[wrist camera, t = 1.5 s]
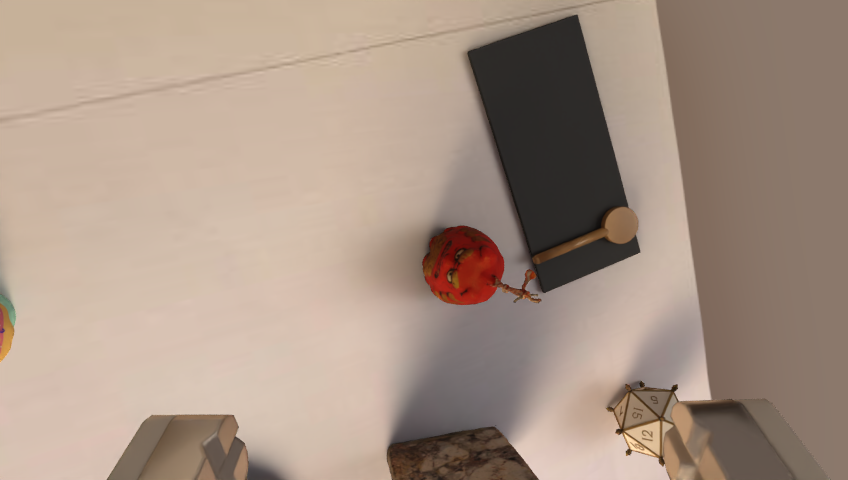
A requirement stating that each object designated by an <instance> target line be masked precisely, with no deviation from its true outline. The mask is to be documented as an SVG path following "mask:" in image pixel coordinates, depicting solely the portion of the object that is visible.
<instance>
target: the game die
mask: <svg viewBox="0 0 848 480" xmlns="http://www.w3.org/2000/svg"><path fill="white" fill-rule="evenodd" d="M639 384H640V387H641V388H636V389H632V390H631V387H630V385H627V384H626V387H625V388H626V390H628V393H627V394H626V395H625V396H624V397H623V399H622V400H621V401H620V402H619V403H618V405H617V406H616V407H615V408H614V409H613V408H612V407H608V408H606V409H607V410H608V411H610V412H614V415H615V417H616V420H617V422H618V424H619V427H620V429H616V434H618V435H620V434H621V433H622V434H623V436H624V438H625V440H626V443H627V445H628V447H629V449H628V450H627V451H626V456H627V455H630V454H631V452H632V451H635V452H639V453H642V454H646V455H650V456H653V457H657V458H659V464H661V465H662V466H664V464H665V463H664V459H663V441H664V436H665V432H667V431H668V430H669V429H670V428H672V427H673V426H674V423H673V421H672V419H671V417H670V414H671V411H672V407H673V405H674V404H675V403H677V402H678V399H677V397H676V395H675V393H674V391H676V390H677V389H678V384H677V385H673V387H672V389H671V390H666V389H657V388H648V387H644V386H645V385H644V383H643V382H642V381H641V382H640V383H639Z"/></svg>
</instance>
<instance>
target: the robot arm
mask: <svg viewBox="0 0 848 480" xmlns="http://www.w3.org/2000/svg"><path fill="white" fill-rule="evenodd" d="M670 417H671V419H672V421H673V423H674V426H673V427H672V428H670V429H669V430H668V431H667V432H665V436H664V441H663V457H664V463H665V466H666V470H667V473H668V475H669V478H670V480H831V479H830V478H829V477H828V475H827V474H826V473H825V471H824V470H823V469H822V467H821V466H820V465H819V464H818V462H817V461H816V460H815V458H814V457H813V456H812V454H811V453H810V452H809V450H808V449H807V448H806V447H805V445H804V444H803V443H802V441H801V440H800V439H799V438H798V436H797V435H796V433H795V432H794V431H793V430H792V428H791V427H790V426H789V424H788V423H787V422H786V421H785V419H784V418H783V417H782V415H781V414H780V413H779V411H778V410H777V409H776V407H775V406H774V405H773V404H772V403H771V402H769V401H768V400H766V399H740V400H732V399H727V400H702V401H678V402H677V403H675V404H674V405H673V407H672V411H671V414H670ZM238 428H239V426H238V424H237V422H236V419H235V417H234V415H151V416H150V417H149V418H147V419H146V420H145V421H144V422H143V423H142V424H141V426H140V428H139V429H138V431H137V432H136V434H135V436H134V437H133V439H132V440H131V442H130V443H129V445H128V447H127V448H126V450H125V451H124V453H123V455H122V456H121V458H120V459H119V461H118V463H117V464H116V466H115V467H114V469H113V471H112V472H111V474H110V475H109V477H108V479H107V480H247V472H248V465H249V461H248V452H247V449H246V446H245V443H244V442H243V441H241V440H240V439H238V438H237V437H236V436H235V435H236V433H237V430H238Z"/></svg>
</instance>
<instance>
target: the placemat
mask: <svg viewBox="0 0 848 480" xmlns="http://www.w3.org/2000/svg"><path fill="white" fill-rule="evenodd" d="M468 56H469V59H470V63H471V66H472V69H473V72H474V75H475V78H476V82H477V85H478V88H479V91H480V94H481V98H482V101H483V104H484V107H485V110H486V113H487V117H488V120H489V123H490V126H491V129H492V133H493V136H494V139H495V142H496V145H497V148H498V152H499V155H500V158H501V161H502V164H503V168H504V171H505V174H506V177H507V180H508V183H509V187H510V190H511V193H512V196H513V199H514V203H515V206H516V209H517V212H518V215H519V218H520V222H521V225H522V228H523V231H524V234H525V238H526V241H527V244H528V247H529V250H530V253H531V257H532V260H533V257H534V256H535V255H537V254H539V253H542V252H544V251H546V250H549V249H551V248H554V247H556V246H559V245H561V244H563V243H566V242H568V241H571V240H573V239H576V238H578V237H581V236H583V235H585V234H588V233H590V232H593V231H595V230H598V229H600V228H601V222H602V219H603V216H604V215H605V213H606V212H607V211H608V210H610V209H611V208H613V207H617V206H621V207H627V208H629V207H628V203H627V200H626V196H625V192H624V188H623V185H622V181H621V177H620V173H619V169H618V166H617V162H616V158H615V154H614V151H613V147H612V143H611V139H610V136H609V132H608V128H607V124H606V120H605V117H604V113H603V109H602V105H601V102H600V98H599V94H598V90H597V87H596V83H595V79H594V75H593V72H592V68H591V64H590V60H589V56H588V53H587V49H586V45H585V41H584V38H583V34H582V30H581V26H580V23H579V19H578V15H574V16H572V17H569V18H566V19H563V20H560V21H557V22H554V23H551V24H548V25H545V26H542V27H539V28H536V29H533V30H530V31H527V32H524V33H521V34H518V35H515V36H513V37H510V38H507V39H504V40H501V41H498V42H495V43H492V44H489V45H486V46H483V47H480V48H477V49H474V50H471V51H469V52H468ZM638 253H640V249H639V245H638V241H637V237H636V234H635V236H634V237H633V238H632V239H631V240H630V241H629V242H627V243H624V244H616V243H612V242H610V241H608V240H607V239H606V238H605V237H603V238H600V239H598V240H596V241H593V242H591V243H588V244H586V245H584V246H581V247H579V248H576V249H574V250H571V251H569V252H567V253H564V254H562V255H559V256H557V257H554V258H552V259H550V260H547V261H545V262H542V263H540V264H535V263H534V262H533V263H534V266H535V269H536V273H537V276H538V279H539V282H540V285H541V289H542V292H544V293H546V292H548V291H550V290H553V289H555V288H558V287H560V286H562V285H565V284H567V283H569V282H572V281H574V280H576V279H579V278H581V277H584V276H586V275H588V274H591V273H593V272H595V271H598V270H600V269H602V268H605V267H607V266H610V265H612V264H614V263H617V262H619V261H621V260H624V259H626V258H628V257H631V256H633V255H635V254H638Z"/></svg>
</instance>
